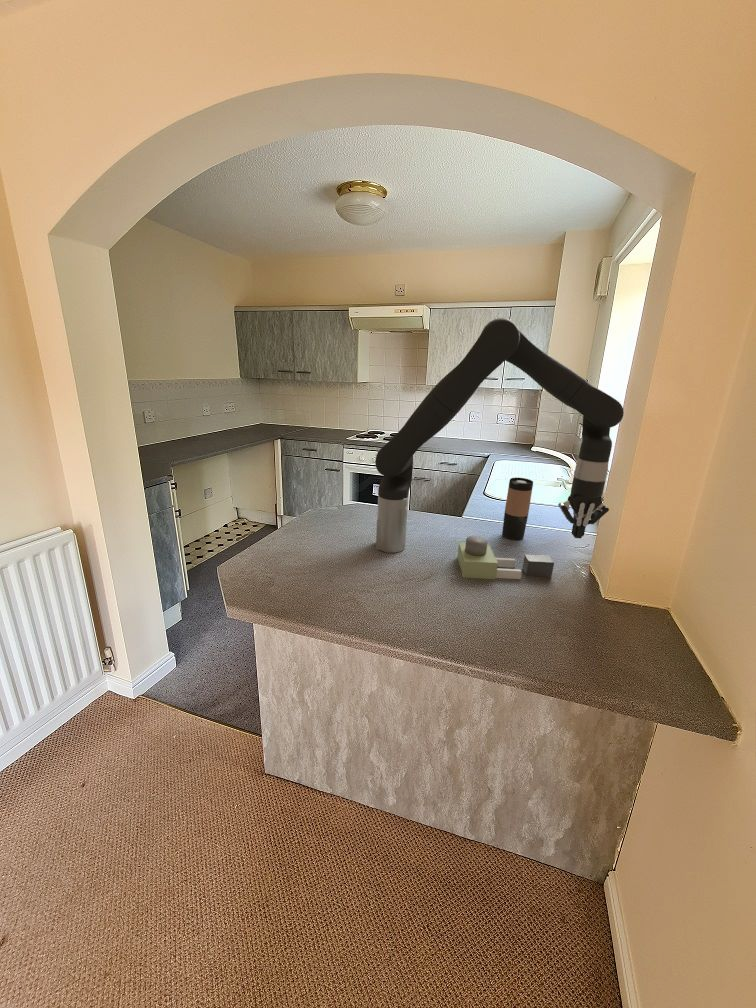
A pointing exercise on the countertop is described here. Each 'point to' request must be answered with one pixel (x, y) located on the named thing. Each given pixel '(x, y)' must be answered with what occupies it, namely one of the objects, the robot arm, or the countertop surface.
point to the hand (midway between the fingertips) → (577, 537)
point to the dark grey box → (538, 566)
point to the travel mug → (517, 508)
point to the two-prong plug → (484, 561)
